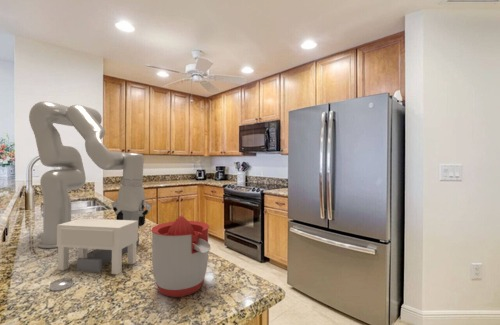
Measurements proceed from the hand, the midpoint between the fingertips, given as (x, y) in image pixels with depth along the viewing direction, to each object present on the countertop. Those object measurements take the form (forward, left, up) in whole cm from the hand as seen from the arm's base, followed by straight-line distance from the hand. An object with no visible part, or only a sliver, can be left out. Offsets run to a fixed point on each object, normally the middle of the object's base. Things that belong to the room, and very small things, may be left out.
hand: (130, 224), depth 104 cm
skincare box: (-18, +27, -10) cm, 34 cm away
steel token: (+1, -33, -10) cm, 35 cm away
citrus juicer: (+35, -29, -10) cm, 47 cm away
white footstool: (+1, -19, -9) cm, 21 cm away
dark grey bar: (+1, -11, -9) cm, 14 cm away
